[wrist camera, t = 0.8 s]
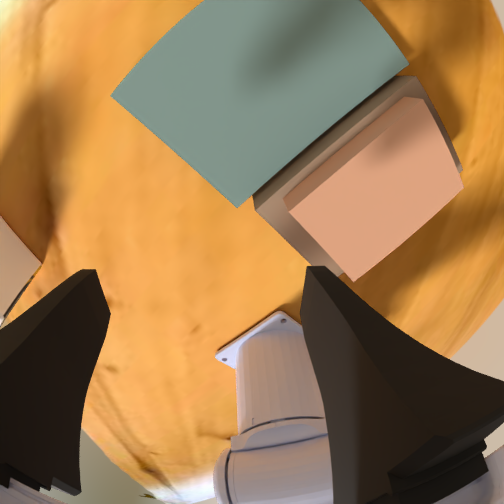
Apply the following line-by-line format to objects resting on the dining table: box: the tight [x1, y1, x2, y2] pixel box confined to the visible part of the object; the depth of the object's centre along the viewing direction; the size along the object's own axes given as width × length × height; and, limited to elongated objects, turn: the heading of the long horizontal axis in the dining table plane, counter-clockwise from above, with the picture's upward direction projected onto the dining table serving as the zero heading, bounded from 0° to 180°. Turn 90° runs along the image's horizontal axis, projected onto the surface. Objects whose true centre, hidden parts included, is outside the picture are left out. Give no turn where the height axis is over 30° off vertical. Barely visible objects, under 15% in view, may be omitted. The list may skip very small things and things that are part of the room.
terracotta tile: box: [283, 96, 464, 282], centre depth 14 cm, size 6×9×2 cm, turn 133°
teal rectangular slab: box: [110, 0, 409, 208], centre depth 13 cm, size 10×14×2 cm
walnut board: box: [252, 76, 463, 277], centre depth 16 cm, size 7×12×3 cm, turn 133°
